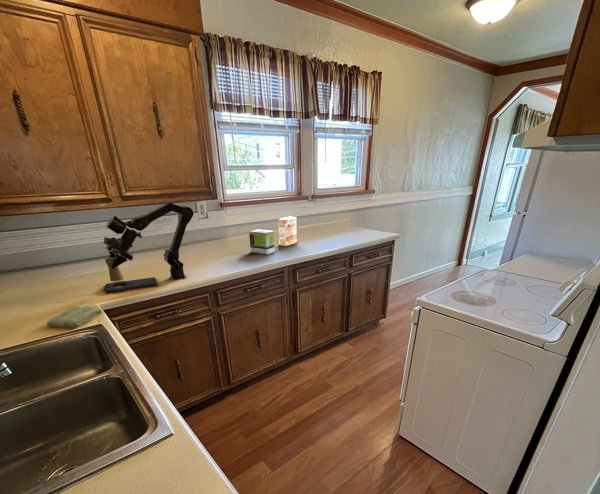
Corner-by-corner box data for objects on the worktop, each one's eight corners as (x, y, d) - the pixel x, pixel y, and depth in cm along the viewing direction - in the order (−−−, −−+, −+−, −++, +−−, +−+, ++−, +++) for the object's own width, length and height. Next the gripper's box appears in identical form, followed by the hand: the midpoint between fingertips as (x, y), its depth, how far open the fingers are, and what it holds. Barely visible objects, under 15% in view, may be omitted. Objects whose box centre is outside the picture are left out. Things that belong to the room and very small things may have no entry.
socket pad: (155, 279, 181) (154, 276, 180) (157, 286, 170) (157, 283, 169) (104, 286, 171) (103, 283, 171) (103, 294, 160) (102, 291, 160)
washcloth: (104, 311, 142) (102, 304, 141) (76, 329, 127) (73, 322, 125) (76, 310, 143) (73, 303, 142) (44, 328, 128) (41, 321, 126)
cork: (118, 281, 160) (111, 259, 155) (107, 281, 161) (100, 259, 156) (126, 277, 165) (120, 256, 160) (116, 277, 167) (109, 255, 161)
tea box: (275, 251, 233) (274, 230, 226) (266, 254, 226) (265, 233, 219) (259, 249, 241) (257, 228, 234) (250, 252, 233) (248, 231, 226)
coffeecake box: (286, 246, 248) (285, 219, 239) (278, 245, 252) (277, 218, 243) (297, 242, 260) (296, 216, 250) (289, 241, 263) (289, 216, 254)
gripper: (104, 228, 160) (87, 254, 159) (119, 232, 149) (101, 261, 147) (125, 241, 169) (109, 266, 168) (140, 246, 158) (123, 274, 156)
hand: (110, 267), depth 159 cm, fingers closed on cork, 5 cm apart
